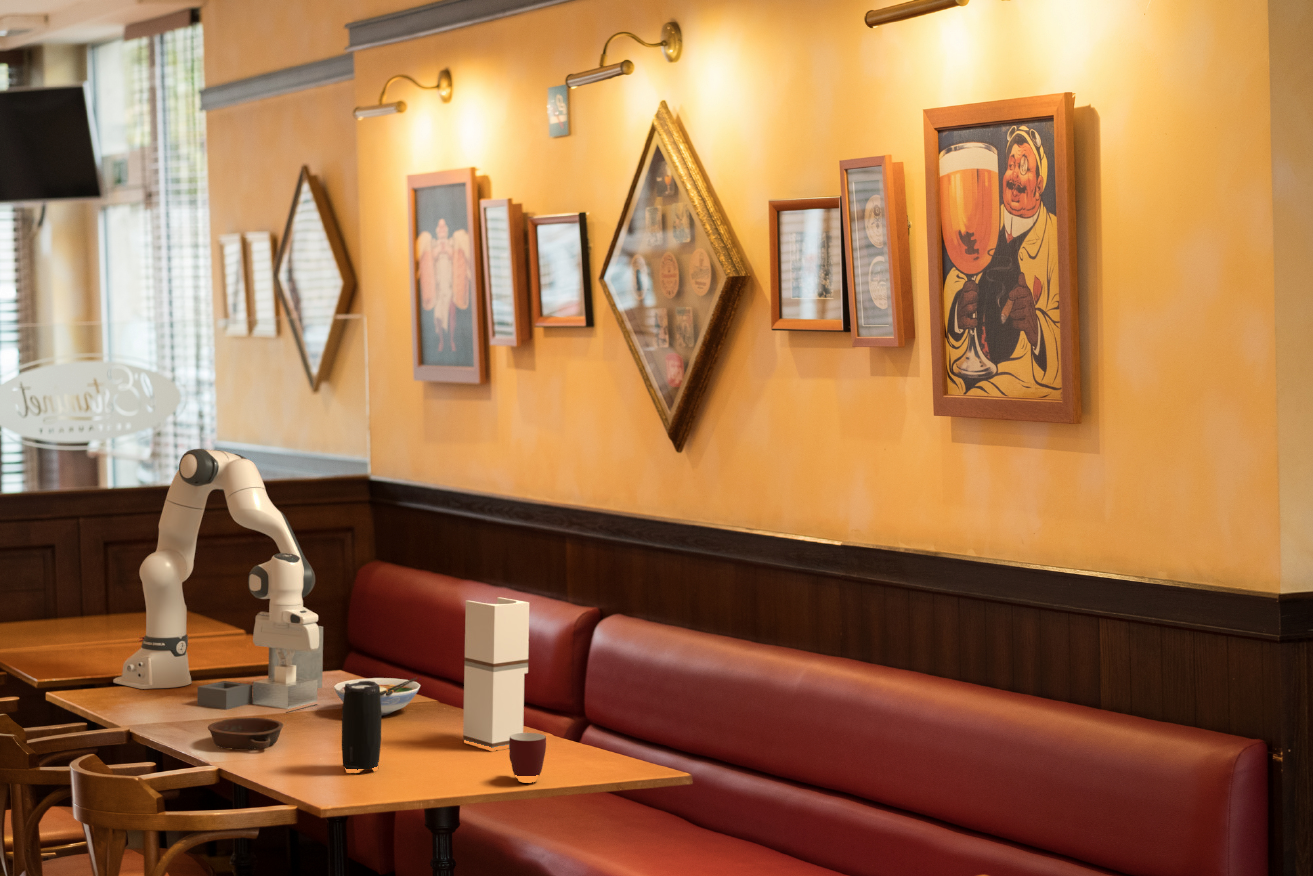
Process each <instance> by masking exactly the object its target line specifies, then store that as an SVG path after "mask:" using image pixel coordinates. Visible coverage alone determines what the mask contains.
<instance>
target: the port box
mask: <svg viewBox="0 0 1313 876" xmlns="http://www.w3.org/2000/svg"><path fill="white" fill-rule="evenodd" d="M274 678H275V677H272V678H268V677H267V678H264V679H259V680H256V681H255V680H254V681H253V682H252V685H253V692H252V705H255V706H260V707H261V706H262V707H268V708H270V707H271V708H276V709H283V710H288V711H286V712H285V713H286V714H287V713H288V714H289V713H291V712H293V713H294V712H297V711H301V710H304V709H308V708H311V707H316V706H318V703H317V702H318V688H317V679H311V678H303V677H296V681H295V682H291V683H287V684H286V683H279V682H274ZM312 703H315V704H312ZM309 704H311V705H309ZM305 705H308V706H305ZM302 706H303V707H302ZM304 706H305V707H304ZM297 707H301V708H297ZM293 708H296V709H293ZM290 709H293V710H290Z"/></svg>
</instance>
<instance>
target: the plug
mask: <svg viewBox="0 0 1313 876" xmlns="http://www.w3.org/2000/svg"><path fill="white" fill-rule="evenodd" d="M295 681H296V665H290V666H284V665H278V666H275V678H274V682H279V683H286V684H287V683H291V682H295Z"/></svg>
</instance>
